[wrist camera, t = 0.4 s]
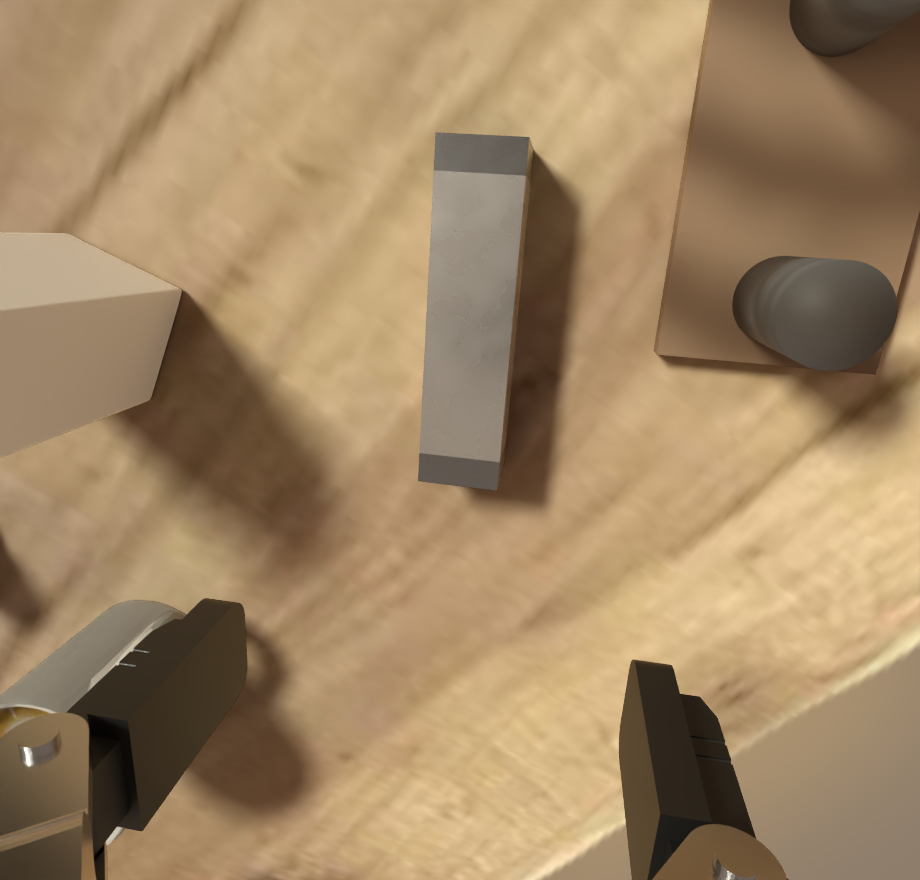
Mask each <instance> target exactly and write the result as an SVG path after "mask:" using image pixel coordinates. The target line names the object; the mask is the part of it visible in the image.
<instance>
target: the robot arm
mask: <svg viewBox="0 0 920 880" xmlns="http://www.w3.org/2000/svg"><path fill="white" fill-rule="evenodd" d="M246 674H247V648H246V630H245V613H244V608H243V606H242V604H240V603H236V602H229V601H222V600H215V599H208V598H206V599H203V600H201V601H200V602H199V603H198V604H197V605H196V606H195V607H194V608H193V609H192V610H191V611H190V612H189V613H188V614H187V615H186V616H185V617H184V618H183V619H182V620H181V619H174V620H172V621H170V622H168V623H166V624H164V625H162V626H161V627H159V628H157V629H155V630H153V631H151V632H150V633H149V634H148V635H147V636H146V637H145V638H144V639H143V640H142V641H141V642H139V643H138V644H137V645H136V646H135V647H134V649H133V652H131V651H130V652H129V653H128V654H127V655H126V656H125V657H124V658H123V659H122V660H121V661H119V665H115V666H114V667H113V668H112V669H111V670H110V671H109V672H108V673H107V674H106V675H105V676H104V677H103V678H102V679H101V680H99V681H98V682H97V683H96V684H95V685H94V686H93V687H92V688H91V689H90V690H89V691H88V692H87V693H86V694H85V695H84V696H83V697H82V698H81V699H79V700H78V701H77V702H76V703H75V704H74V705H73V706H72V707H71V708H70V709H69V710H68V711H67V712H66V713H52V714H47V715H42V716H39V717H36V718H33V719H30V720H28V721H26V722H24V723H22V724H20V725H18V726H16V727H14V728H13V729H11V730H10V731H8V732H7V733H6V734H4V735H3V736H2V737H1V738H0V880H108V852H107V845H106V841H107V839H108V838H109V837H110V835H111V834H112V833H113V831H114V830H115V829H116V827H122V828H127V829H132V830H137V831H143V830H144V828H145V827H146V825H147V824H148V823H149V821H150V820H151V818H152V817H153V816H154V814H155V813H156V811H157V810H158V809H159V807H160V806H161V804H162V803H163V802H164V800H165V799H166V797H167V796H168V794H169V793H170V792H171V790H172V789H173V787H174V786H175V785H176V783H177V782H178V780H179V779H180V778H181V776H182V775H183V773H184V772H185V771H186V769H187V768H188V766H189V765H190V764H191V762H192V761H193V759H194V758H195V757H196V755H197V754H198V752H199V751H200V750H201V748H202V747H203V745H204V744H205V743H206V741H207V740H208V738H209V737H210V736H211V734H212V733H213V731H214V730H215V729H216V727H217V726H218V724H219V723H220V722H221V720H222V719H223V717H224V716H225V715H226V713H227V712H228V710H229V709H230V708H231V706H232V705H233V703H234V702H235V700H236V699H237V698H238V696H239V694H240V693H241V690H242V688H243V685H244V682H245V679H246ZM619 761H620V770H621V780H622V789H623V799H624V808H625V818H626V827H627V837H628V846H629V856H630V865H631V875H632V880H788V879H787V878H786V874H785V872H784V870H783V868H782V866H781V865H780V863H779V862H778V860H777V859H776V857H775V856H774V855H773V854H772V853H771V851H770V850H769V849H768V848H766V847H765V846H764V845H763V844H762V843H761V842H759V841H758V840H757V839H756V837H755V834H754V831H753V827H752V824H751V821H750V818H749V815H748V812H747V809H746V805H745V802H744V799H743V796H742V793H741V790H740V787H739V783H738V780H737V777H736V774H735V771H734V768H733V765H731V758H730V755H729V752H728V749H727V746H726V745H725V740H724V736H723V733H722V730H721V727H720V724H719V721H718V718H717V717H716V716H715V714H714V713H713V712H712V711H711V710H710V708H709V707H708V706H707V705H706V704H705V702H704V701H703V700H702V699H701V698H700V697H698V696H691V695H684V694H680V693H679V689H678V685H677V681H676V677H675V673H674V669H673V667H672V665H668V664H660V663H653V662H646V661H639V660H632V661H631V664H630V669H629V675H628V681H627V687H626V693H625V699H624V705H623V711H622V717H621V724H620V733H619Z"/></svg>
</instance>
